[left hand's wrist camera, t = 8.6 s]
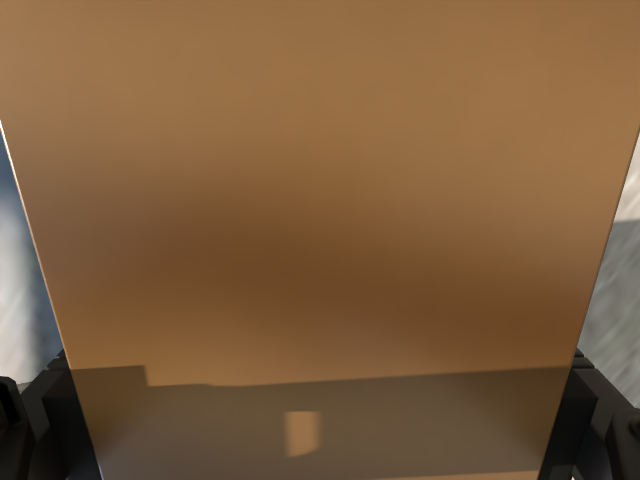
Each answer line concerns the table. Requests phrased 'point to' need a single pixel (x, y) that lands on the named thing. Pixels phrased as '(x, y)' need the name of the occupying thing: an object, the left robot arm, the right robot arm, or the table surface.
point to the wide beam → (320, 223)
